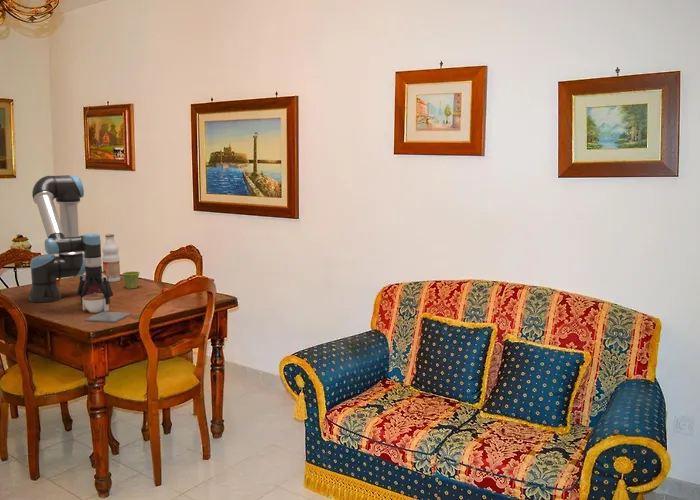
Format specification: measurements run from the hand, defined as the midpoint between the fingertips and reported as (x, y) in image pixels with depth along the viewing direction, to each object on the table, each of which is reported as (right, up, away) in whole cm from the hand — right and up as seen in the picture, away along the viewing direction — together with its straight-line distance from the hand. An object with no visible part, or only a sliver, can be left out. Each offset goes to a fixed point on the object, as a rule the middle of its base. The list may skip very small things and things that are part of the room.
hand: (95, 310), depth 311 cm
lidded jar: (0, -1, 0) cm, 1 cm away
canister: (-6, +2, +15) cm, 17 cm away
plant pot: (-1, +8, +54) cm, 54 cm away
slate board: (+11, -2, -12) cm, 16 cm away
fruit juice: (-19, +11, +73) cm, 76 cm away
